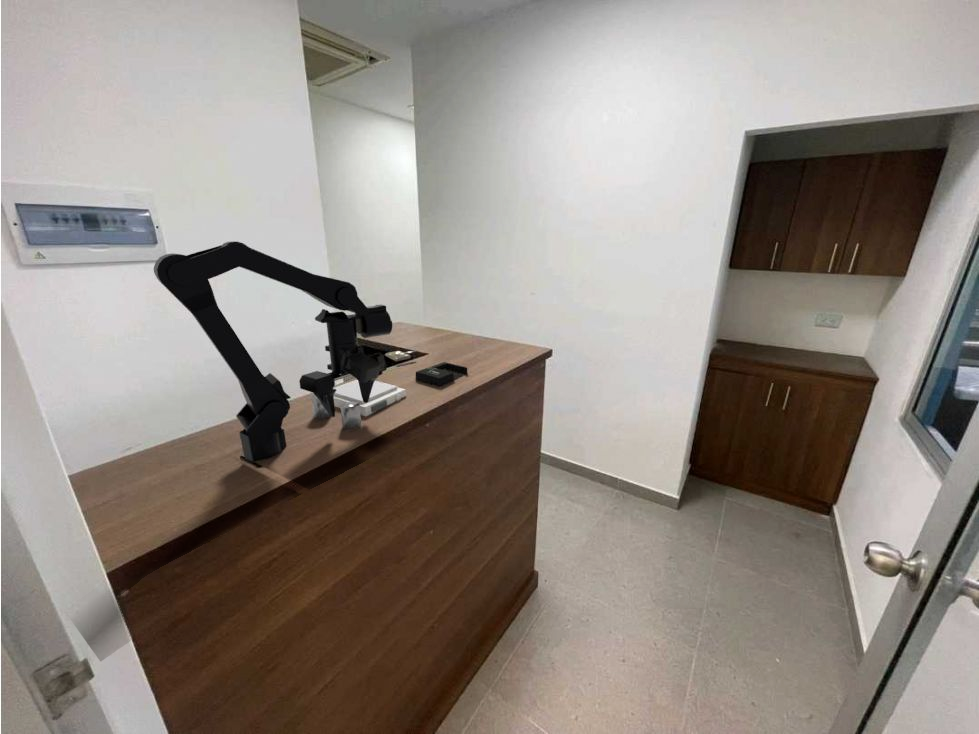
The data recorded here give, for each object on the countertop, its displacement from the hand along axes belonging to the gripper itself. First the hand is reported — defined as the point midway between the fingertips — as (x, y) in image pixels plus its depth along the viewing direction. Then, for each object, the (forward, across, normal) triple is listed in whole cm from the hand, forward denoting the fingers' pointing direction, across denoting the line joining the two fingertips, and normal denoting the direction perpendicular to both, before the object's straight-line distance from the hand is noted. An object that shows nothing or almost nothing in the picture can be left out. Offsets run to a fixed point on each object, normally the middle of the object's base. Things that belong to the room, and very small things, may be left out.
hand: (349, 409), depth 85 cm
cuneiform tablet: (+2, +41, +19) cm, 45 cm away
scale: (+4, +12, +9) cm, 16 cm away
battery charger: (+5, +35, +1) cm, 36 cm away
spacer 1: (+4, 0, +10) cm, 11 cm away
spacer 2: (+4, 0, 0) cm, 4 cm away
